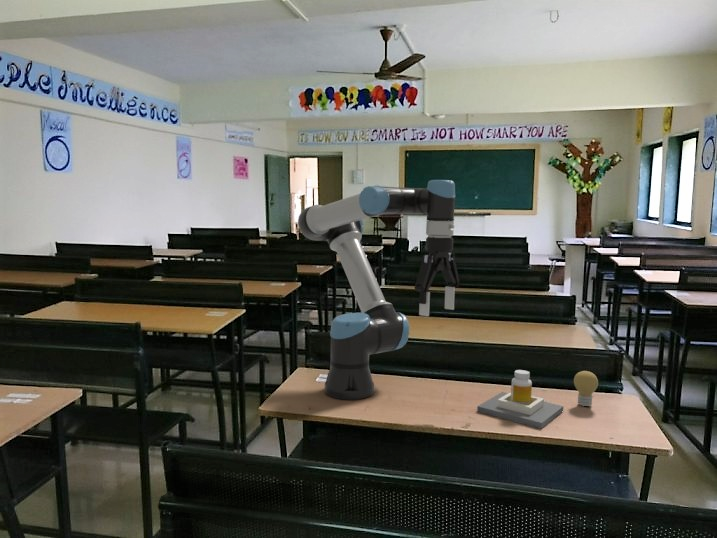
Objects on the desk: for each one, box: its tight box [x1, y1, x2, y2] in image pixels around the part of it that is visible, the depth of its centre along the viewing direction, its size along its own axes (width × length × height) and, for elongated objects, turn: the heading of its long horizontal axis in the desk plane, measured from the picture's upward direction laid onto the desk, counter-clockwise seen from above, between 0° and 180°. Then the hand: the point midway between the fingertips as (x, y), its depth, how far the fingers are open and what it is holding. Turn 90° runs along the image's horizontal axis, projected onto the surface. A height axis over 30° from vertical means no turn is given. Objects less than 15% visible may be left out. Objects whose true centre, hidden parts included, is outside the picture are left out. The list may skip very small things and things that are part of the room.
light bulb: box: [573, 370, 599, 407], centre depth 154 cm, size 6×6×10 cm
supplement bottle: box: [510, 369, 533, 405], centre depth 148 cm, size 5×5×10 cm
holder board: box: [476, 391, 564, 430], centre depth 148 cm, size 18×16×4 cm
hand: (437, 312), depth 151 cm, fingers open, 13 cm apart
